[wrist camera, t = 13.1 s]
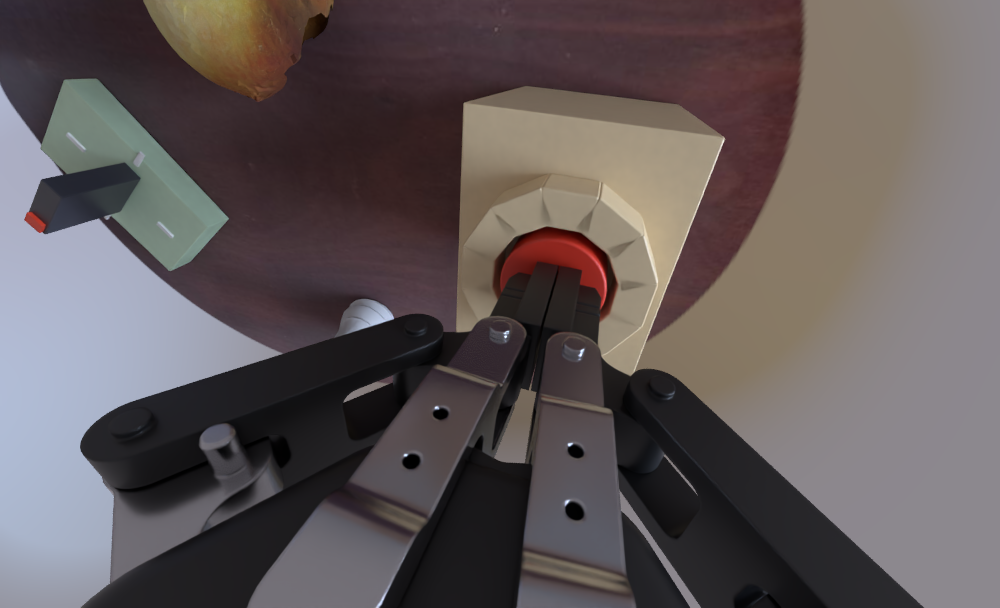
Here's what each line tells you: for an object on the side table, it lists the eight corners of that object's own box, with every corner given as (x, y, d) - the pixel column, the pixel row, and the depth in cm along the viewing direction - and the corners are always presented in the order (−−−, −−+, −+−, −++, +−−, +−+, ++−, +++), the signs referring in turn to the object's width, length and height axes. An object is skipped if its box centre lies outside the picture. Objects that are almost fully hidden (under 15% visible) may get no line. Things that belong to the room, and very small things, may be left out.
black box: (125, 161, 28) (35, 180, 24) (141, 178, 28) (56, 199, 24) (105, 197, 30) (21, 219, 26) (120, 211, 31) (40, 236, 26)
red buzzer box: (625, 276, 25) (630, 415, 15) (506, 252, 26) (440, 367, 16) (679, 104, 19) (743, 148, 10) (525, 85, 21) (441, 107, 11)
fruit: (382, -41, 19) (261, -92, 13) (349, 119, 24) (250, 141, 18) (247, -122, 19) (52, -217, 12) (241, 57, 24) (98, 55, 17)
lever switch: (232, 214, 31) (209, 224, 29) (188, 264, 35) (165, 275, 33) (99, 72, 27) (62, 73, 25) (68, 148, 31) (35, 153, 30)
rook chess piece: (343, 316, 33) (276, 378, 27) (364, 285, 31) (297, 345, 24) (384, 347, 34) (329, 415, 28) (408, 320, 32) (354, 387, 25)
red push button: (595, 316, 15) (593, 342, 14) (506, 296, 16) (495, 320, 14) (619, 230, 13) (619, 251, 12) (516, 211, 14) (504, 229, 12)
